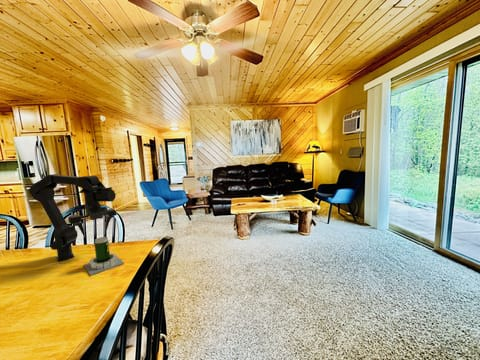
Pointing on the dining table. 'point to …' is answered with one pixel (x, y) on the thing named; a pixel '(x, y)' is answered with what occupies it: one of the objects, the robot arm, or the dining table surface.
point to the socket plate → (93, 272)
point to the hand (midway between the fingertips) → (95, 232)
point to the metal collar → (103, 264)
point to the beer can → (102, 249)
